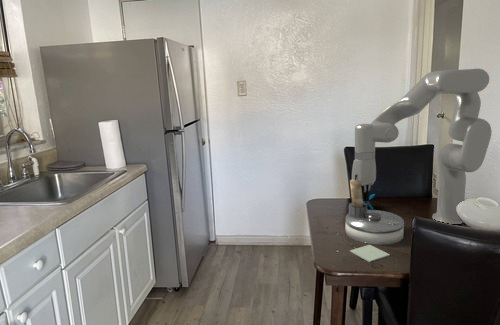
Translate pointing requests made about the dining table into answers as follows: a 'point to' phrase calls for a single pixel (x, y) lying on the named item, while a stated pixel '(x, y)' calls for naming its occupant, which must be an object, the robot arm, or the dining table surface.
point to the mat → (369, 253)
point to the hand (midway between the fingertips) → (364, 200)
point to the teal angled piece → (369, 202)
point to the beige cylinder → (356, 193)
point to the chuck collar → (373, 220)
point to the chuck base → (374, 236)
